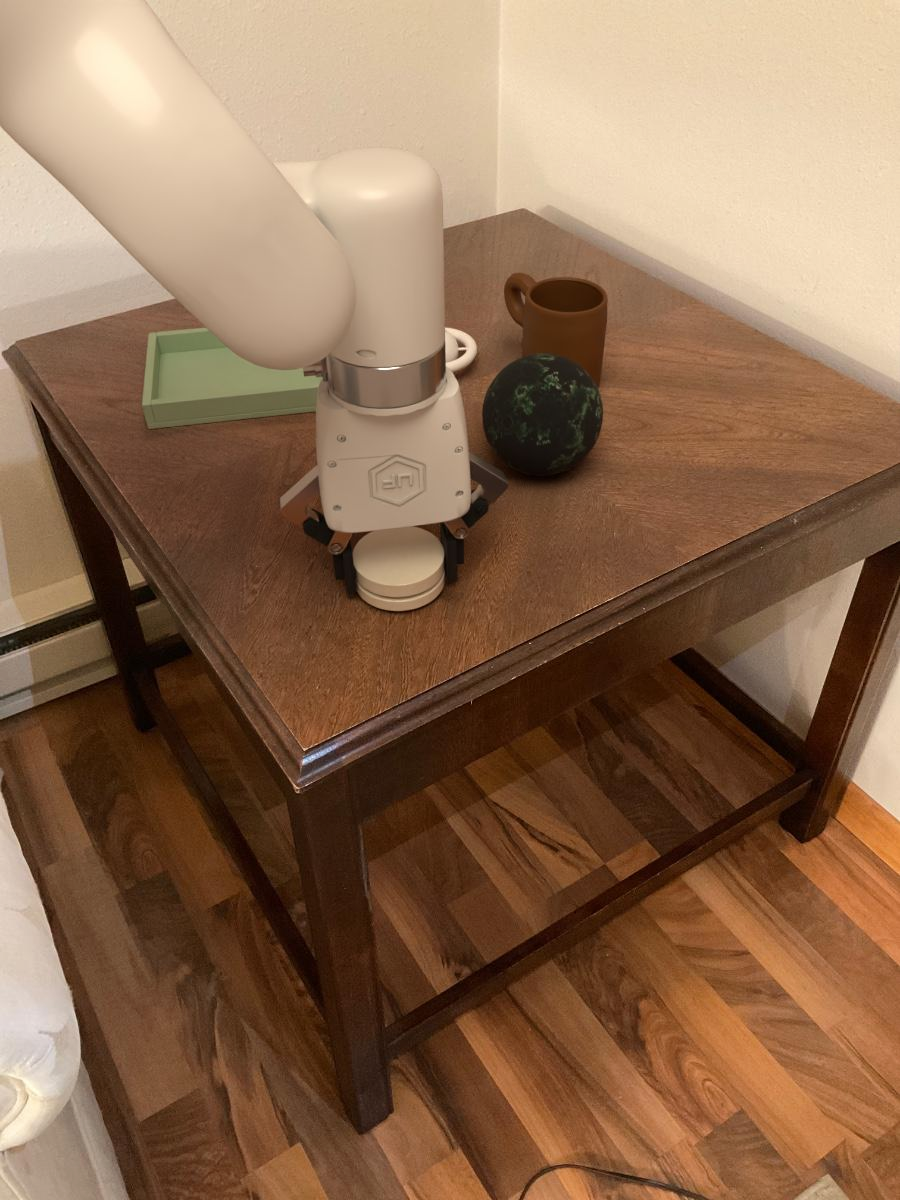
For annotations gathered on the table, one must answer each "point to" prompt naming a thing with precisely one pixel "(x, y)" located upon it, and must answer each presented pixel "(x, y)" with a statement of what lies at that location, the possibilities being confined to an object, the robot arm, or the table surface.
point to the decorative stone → (542, 414)
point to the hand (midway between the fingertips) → (399, 574)
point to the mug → (560, 318)
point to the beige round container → (399, 568)
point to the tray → (215, 383)
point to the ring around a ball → (459, 349)
